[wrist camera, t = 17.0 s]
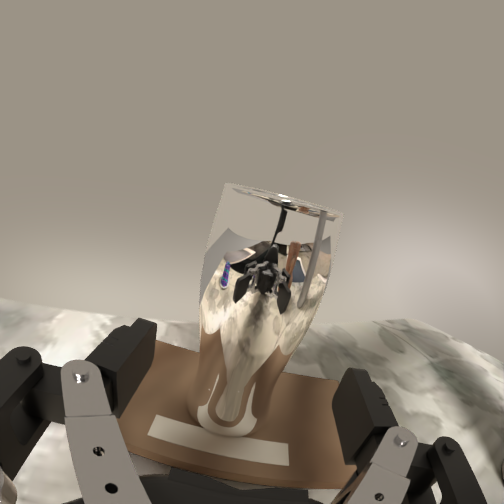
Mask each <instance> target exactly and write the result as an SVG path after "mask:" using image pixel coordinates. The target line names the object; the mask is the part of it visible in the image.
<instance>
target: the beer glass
mask: <svg viewBox="0 0 504 504" xmlns="http://www.w3.org/2000/svg"><path fill="white" fill-rule="evenodd" d="M343 216H344V214H343V213H341V212H339V211H336V210H333V209H330V208H327V207H324V206H320V205H317V204H313V203H310V202H307V201H303V200H300V199H296V198H292V197H289V196H285V195H281V194H277V193H273V192H269V191H265V190H261V189H256V188H252V187H247V186H243V185H238V184H232V183H225V186H224V191H223V194H222V197H221V200H220V204H219V206H218V210H217V212H216V216H215V219H214V222H213V226H212V229H211V232H210V236H209V240H208V244H207V248H206V253H205V257H204V264H203V269H202V275H201V284H200V299H199V334H200V355H199V363H198V368H197V372H196V374H195V377H194V379H193V381H192V384H191V386H190V388H189V391H188V393H187V397H186V404H187V409H188V411H189V413H190V415H191V417H192V418H193V419H194V420H195V421H196V422H197V423H198V424H199V425H200V426H202V427H203V428H205V429H207V430H209V431H211V432H213V433H216V434H219V435H223V436H229V437H240V436H246V435H250V434H253V433H255V432H257V431H258V430H260V429H261V428H262V427H263V426H264V425H265V424H266V422H267V420H268V417H269V413H270V408H271V400H272V395H273V391H274V388H275V385H276V383H277V381H278V379H279V376H280V375H281V373H282V371H283V370H284V368H285V366H286V365H287V363H288V362H289V360H290V359H291V357H292V355H293V354H294V352H295V351H296V349H297V347H298V346H299V344H300V342H301V341H302V339H303V337H304V336H305V334H306V332H307V330H308V328H309V326H310V325H311V323H312V321H313V319H314V317H315V315H316V313H317V311H318V308H319V305H320V303H321V300H322V297H323V295H324V292H325V289H326V286H327V283H328V279H329V276H330V273H331V269H332V265H333V261H334V257H335V252H336V248H337V243H338V238H339V233H340V227H341V223H342V219H343Z"/></svg>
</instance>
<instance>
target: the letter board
mask: <svg viewBox="0 0 504 504" xmlns="http://www.w3.org/2000/svg"><path fill="white" fill-rule="evenodd" d="M199 355H200V353H198V352H195V351H191V350H188V349H184V348H181V347H177V346H174V345H171V344H167V343H164V342H161V341H158V340H156V342H155V353H154V359H153V362H152V365H151V367H150V369H149V370H148V372H147V374H146V375H145V377H144V379H143V380H142V382H141V384H140V385H139V387H138V389H137V390H136V392H135V394H134V395H133V397H132V399H131V400H130V402H129V404H128V405H127V407H126V409H125V410H124V412H123V414H122V415H121V417H120V419H118V418H116V420H117V423H118V425H119V428H120V431H121V434H122V437H123V440H124V442H125V445H126V447H127V450H128V451H129V452H132V453H134V454H137V455H140V456H142V457H145V458H148V459H151V460H154V461H157V462H160V463H163V464H167V465H170V466H173V467H177V468H180V469H184V470H188V471H191V472H195V473H200V474H204V475H208V476H213V477H217V478H222V479H228V480H233V481H239V482H245V483H252V484H260V485H268V486H278V487H291V488H311V489H342V488H343V487H344V485H345V484H346V482H347V481H348V479H349V478H350V477H351V475H352V474H353V472H354V471H355V470H356V469H357V467H356V465H345V463H344V458H343V454H342V449H341V445H340V440H339V436H338V432H337V427H336V423H335V419H334V415H333V410H332V399H333V396H334V394H335V392H336V390H337V388H338V386H339V382H338V381H336V380H329V379H322V378H315V377H309V376H303V375H297V374H291V373H286V372H282V373H281V375H280V376H279V379H278V381H277V383H276V385H275V388H274V391H273V395H272V400H271V408H270V413H269V417H268V420H267V422H266V424H265V425H264V426H263V427H262V428H261V429H260V430H258V431H257V432H255V433H253V434H250V435H246V436H240V437H229V436H223V435H219V434H216V433H213V432H211V431H209V430H207V429H205V428H203V427H202V426H200V425H199V424H198V423H197V422H196V421H195V420H194V419H193V418H192V417H191V415H190V413H189V411H188V409H187V404H186V397H187V393H188V391H189V388H190V386H191V384H192V381H193V379H194V377H195V374H196V372H197V368H198V363H199Z"/></svg>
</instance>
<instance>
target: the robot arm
mask: <svg viewBox="0 0 504 504" xmlns="http://www.w3.org/2000/svg"><path fill="white" fill-rule="evenodd" d="M156 332H157V324H156V323H154V322H151V321H148V320H145V319H142V318H138V319H137V320H136V321H135V322H134V323H133V324H132V326H131V327H129V326H126V325H123V326H121V327H118V328H116V329H114V330H113V331H112V332H111V333H110V334H109V335H108V337H106V338H105V339H104V340H103V342H101V343H100V344H99V345H98V346H97V347H96V348H95V350H94V351H93V352H92V353H91V354H90V355H89V356H88V357H87V358H86V359H85V360H73V361H69V362H67V363H66V364H65V365H64V366H63V367H58V366H53V365H49V364H45V363H42V359H41V355H40V354H39V352H38V351H37V350H35V349H33V348H31V347H24V346H22V347H17V348H14V349H12V350H11V351H10V352H8V353H7V354H6V355H5V356H4V357H3V358H2V359H0V504H16V501H17V490H16V487H15V485H14V484H13V482H12V481H13V480H14V478H15V476H16V475H17V473H18V472H19V470H20V468H21V467H22V465H23V464H24V462H25V460H26V459H27V457H28V456H29V454H30V453H31V451H32V450H33V448H34V447H35V445H36V443H37V442H38V440H39V439H40V437H41V436H42V435H43V433H44V432H45V430H46V429H47V427H48V426H49V424H50V423H51V421H52V422H56V423H60V424H64V425H65V426H66V431H67V437H68V442H69V447H70V452H71V456H72V461H73V465H74V469H75V473H76V476H77V480H78V484H79V487H80V490H81V494H82V498H79V499H76V500H73V501H70V502H66V503H63V504H323V503H321V502H319V501H316V500H313V499H309V497H308V490H303V489H287V488H266V489H253V490H239V489H236V488H233V487H231V486H228V485H226V484H223V483H221V482H218V481H216V480H214V479H211V478H209V477H207V476H203V475H199V474H195V473H191V472H187V471H184V470H180V469H177V468H173V467H171V470H170V473H169V475H163V474H153V475H144V476H138V474H137V472H136V470H135V467H134V465H133V462H132V460H131V458H130V455H129V453H128V450H127V447H126V445H125V442H124V440H123V437H122V434H121V431H120V428H119V425H118V423H117V420H116V418H118V419H120V417H121V415H122V414H123V412H124V410H125V409H126V407H127V405H128V404H129V402H130V400H131V399H132V397H133V395H134V394H135V392H136V390H137V389H138V387H139V385H140V384H141V382H142V380H143V379H144V377H145V375H146V374H147V372H148V370H149V369H150V367H151V365H152V362H153V359H154V353H155V342H156ZM388 405H389V404H388V402H387V400H386V399H385V395H384V393H383V391H382V389H381V388H380V387H379V386H378V385H377V384H376V383H375V382H372V381H371V379H370V377H369V374H368V372H367V371H366V370H363V369H356V368H348V369H347V370H346V372H345V374H344V376H343V378H342V380H341V382H340V384H339V386H338V388H337V390H336V392H335V394H334V396H333V399H332V410H333V415H334V419H335V423H336V427H337V432H338V436H339V440H340V445H341V449H342V454H343V458H344V463H345V465H356V467H357V469H356V470H355V471H354V472H353V474H352V475H351V477H350V478H349V479H348V481H347V482H346V484H345V485H344V487H343V488H342V489H341V491H340V492H339V493H338V495H337V496H336V497H335V499H334V500H333V501H332V502H331V504H436V501H435V497H434V494H433V491H432V489H431V486H432V485H433V484H434V483H436V482H438V485H439V488H440V490H441V493H442V500H441V503H440V504H487V502H486V500H485V497H484V495H483V493H482V490H481V488H480V486H479V484H478V481H477V479H476V477H475V475H474V473H473V471H472V469H471V467H470V465H469V463H468V461H467V459H466V457H465V455H464V453H463V451H462V449H461V447H460V445H459V444H458V443H457V442H456V441H455V440H454V439H452V438H450V437H444V436H443V437H439V438H438V439H437V440H436V441H435V442H434V443H433V445H429V444H423V443H419V442H418V441H417V438H416V436H415V435H414V434H413V433H412V432H411V431H410V430H408V429H406V428H404V427H399V425H398V423H397V421H396V419H395V417H394V415H393V412H392V410H391V408H390V406H388ZM502 474H503V479H504V461H503V464H502Z"/></svg>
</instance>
